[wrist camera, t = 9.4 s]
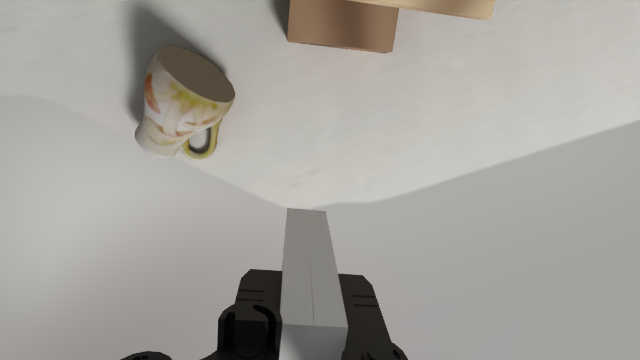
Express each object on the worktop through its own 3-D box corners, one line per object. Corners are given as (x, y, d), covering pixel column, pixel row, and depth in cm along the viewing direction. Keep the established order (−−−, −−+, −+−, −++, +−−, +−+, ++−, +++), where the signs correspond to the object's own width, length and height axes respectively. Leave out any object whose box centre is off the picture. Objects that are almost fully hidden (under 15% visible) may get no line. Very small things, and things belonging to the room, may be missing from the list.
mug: (124, 132, 35) (78, 85, 26) (201, 72, 38) (185, 10, 28) (179, 185, 35) (153, 158, 26) (251, 122, 38) (253, 76, 28)
